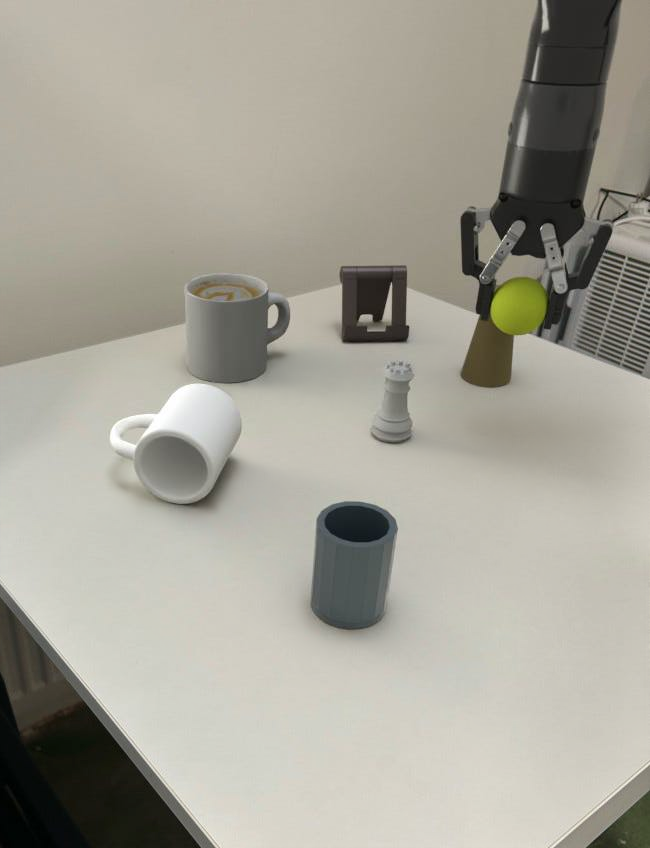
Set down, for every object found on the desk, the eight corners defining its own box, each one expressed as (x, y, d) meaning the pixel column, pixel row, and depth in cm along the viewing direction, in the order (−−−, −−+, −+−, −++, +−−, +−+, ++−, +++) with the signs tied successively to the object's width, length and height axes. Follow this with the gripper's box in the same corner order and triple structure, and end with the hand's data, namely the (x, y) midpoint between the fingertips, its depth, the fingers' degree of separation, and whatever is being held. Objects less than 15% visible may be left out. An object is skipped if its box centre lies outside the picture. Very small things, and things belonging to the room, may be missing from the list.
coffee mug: (195, 386, 98) (193, 304, 92) (180, 353, 106) (177, 276, 100) (302, 375, 101) (307, 295, 95) (280, 344, 109) (283, 268, 103)
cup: (393, 591, 68) (405, 511, 63) (374, 637, 63) (385, 554, 59) (324, 573, 70) (331, 494, 65) (300, 617, 65) (306, 535, 60)
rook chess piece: (363, 427, 91) (370, 359, 86) (400, 421, 92) (409, 354, 87) (381, 446, 87) (389, 377, 82) (419, 440, 88) (429, 371, 84)
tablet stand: (342, 343, 109) (347, 281, 104) (333, 321, 116) (337, 261, 111) (407, 342, 110) (416, 280, 105) (395, 320, 116) (402, 260, 111)
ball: (545, 327, 85) (557, 273, 81) (539, 347, 80) (551, 291, 77) (490, 319, 86) (499, 266, 83) (481, 339, 82) (490, 283, 79)
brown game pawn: (510, 368, 103) (528, 281, 97) (511, 389, 99) (531, 299, 92) (461, 363, 104) (476, 277, 98) (459, 384, 100) (475, 294, 93)
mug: (242, 458, 85) (242, 387, 80) (215, 510, 77) (214, 435, 72) (132, 443, 87) (126, 373, 83) (96, 492, 79) (87, 418, 75)
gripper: (640, 136, 73) (594, 320, 83) (477, 125, 78) (451, 300, 88) (638, 152, 68) (588, 347, 78) (462, 140, 72) (436, 325, 82)
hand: (515, 321), depth 83 cm, fingers closed on ball, 5 cm apart
